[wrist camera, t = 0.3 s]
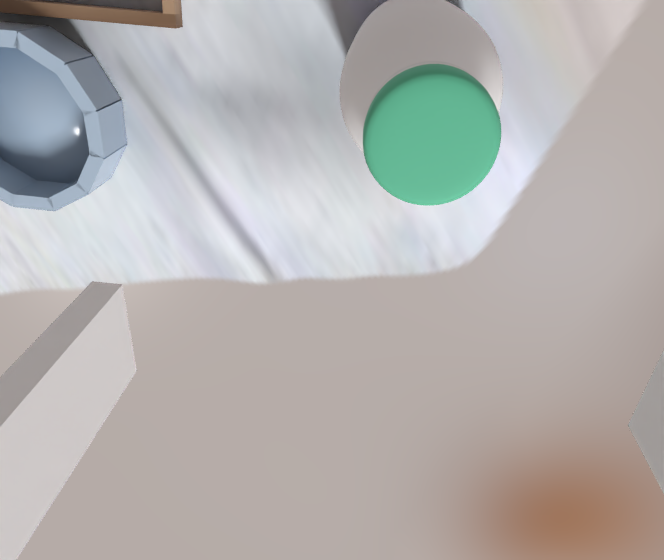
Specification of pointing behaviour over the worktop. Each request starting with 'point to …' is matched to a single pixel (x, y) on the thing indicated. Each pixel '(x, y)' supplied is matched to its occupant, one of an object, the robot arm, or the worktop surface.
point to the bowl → (54, 119)
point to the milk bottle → (423, 99)
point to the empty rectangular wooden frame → (98, 12)
